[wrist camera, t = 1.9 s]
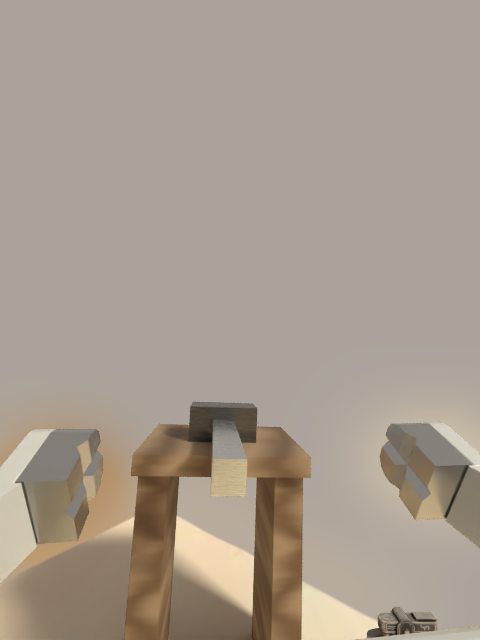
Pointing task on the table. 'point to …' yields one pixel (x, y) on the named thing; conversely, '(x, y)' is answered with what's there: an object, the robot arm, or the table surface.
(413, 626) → the lighter
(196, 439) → the steel t handle
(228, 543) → the table surface
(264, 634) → the walnut shelf
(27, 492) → the robot arm
